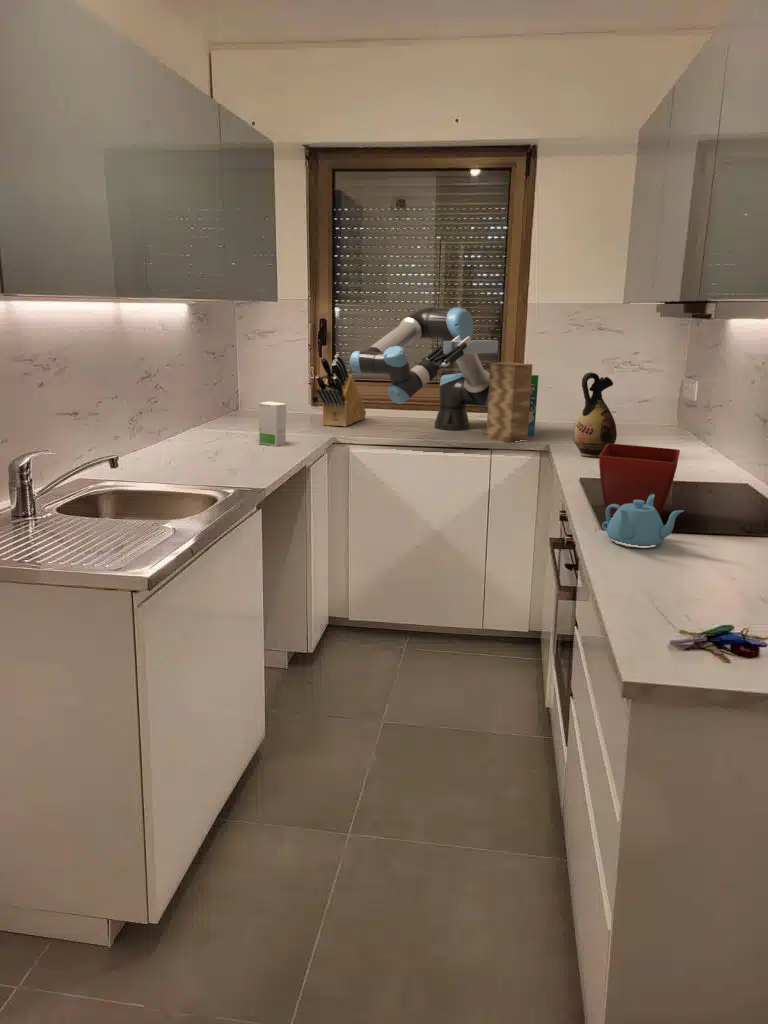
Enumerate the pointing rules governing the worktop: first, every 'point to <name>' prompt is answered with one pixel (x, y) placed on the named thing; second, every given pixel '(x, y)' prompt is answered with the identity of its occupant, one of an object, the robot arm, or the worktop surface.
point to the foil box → (473, 346)
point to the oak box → (509, 401)
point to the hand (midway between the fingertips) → (464, 339)
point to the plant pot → (636, 474)
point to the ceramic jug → (594, 419)
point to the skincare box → (272, 423)
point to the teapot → (638, 523)
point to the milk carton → (533, 405)
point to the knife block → (339, 395)
